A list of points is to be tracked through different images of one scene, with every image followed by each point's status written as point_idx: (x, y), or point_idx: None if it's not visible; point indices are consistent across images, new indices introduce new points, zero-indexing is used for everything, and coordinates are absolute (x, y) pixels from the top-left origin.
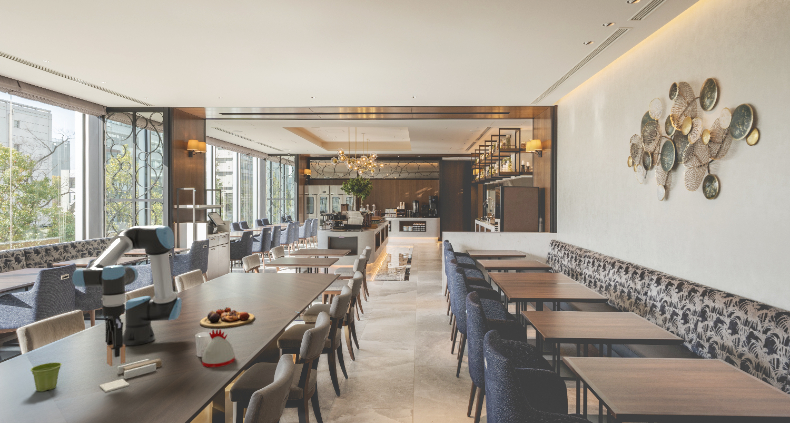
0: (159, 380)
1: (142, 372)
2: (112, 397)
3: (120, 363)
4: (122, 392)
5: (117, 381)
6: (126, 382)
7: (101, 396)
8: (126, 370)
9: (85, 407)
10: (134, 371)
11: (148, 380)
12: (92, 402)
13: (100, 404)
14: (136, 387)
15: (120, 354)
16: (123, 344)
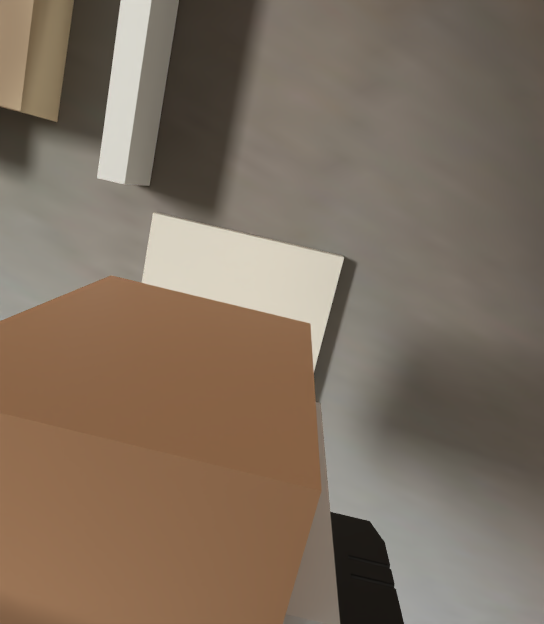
0: (510, 21)
1: (172, 2)
2: (448, 454)
3: (318, 406)
4: (431, 366)
5: (181, 274)
6: (281, 246)
7: (346, 478)
8: (32, 107)
9: (428, 615)
10: (146, 81)
11: (397, 83)
12: (392, 558)
13: (482, 553)
14: (446, 247)
15: (325, 491)
16: (167, 469)
